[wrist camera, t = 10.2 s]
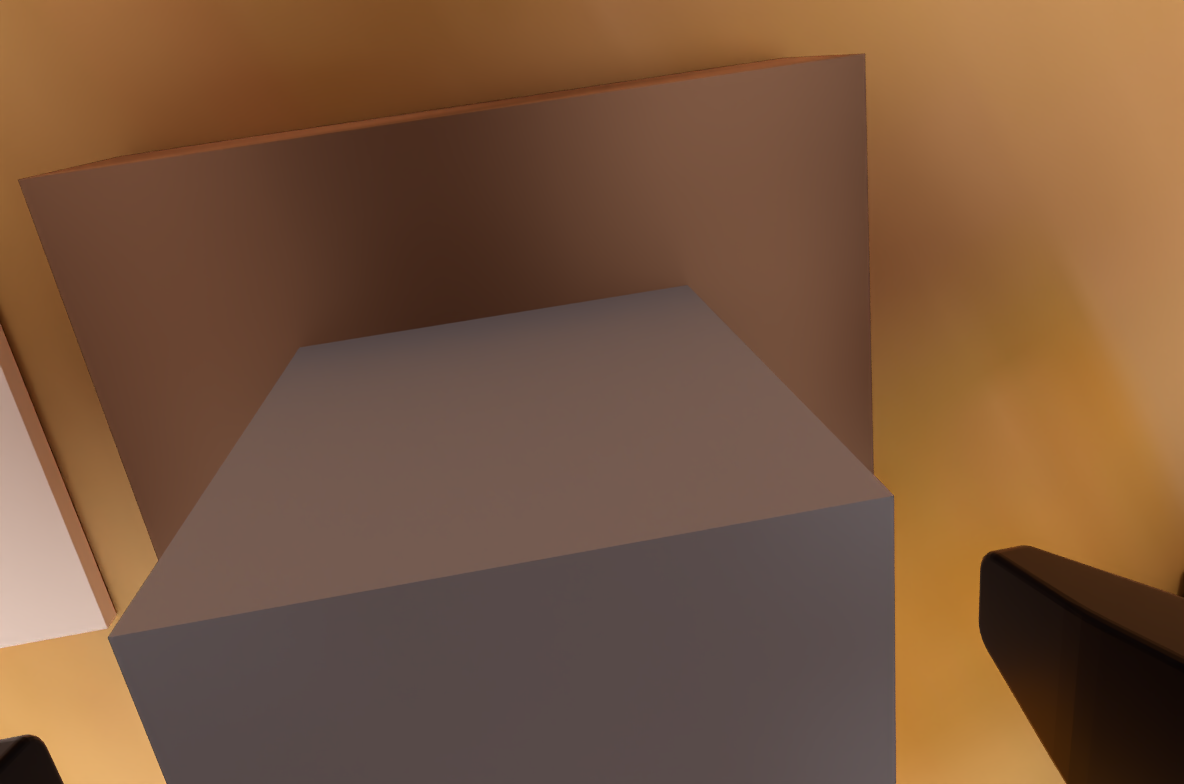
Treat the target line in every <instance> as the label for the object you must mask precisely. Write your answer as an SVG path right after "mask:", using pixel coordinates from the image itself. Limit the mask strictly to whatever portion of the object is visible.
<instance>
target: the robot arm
mask: <svg viewBox="0 0 1184 784" xmlns="http://www.w3.org/2000/svg"><path fill="white" fill-rule="evenodd" d="M979 628H980V633H981V636H982V640H983V642H984V645H985V647H986V649H987V650H988V652H989V654H990V656H991V657H992V659H993V661H994V662H995V664H996V666H997V668H998V669H999V671H1000V673H1001V674H1002V676H1003V678H1004V679H1005V681H1006V683H1007V685H1008V686H1009V688H1010V690H1011V691H1012V693H1013V695H1014V697H1015V698H1016V700H1017V702H1018V703H1019V705H1020V707H1021V708H1022V710H1023V712H1024V714H1025V715H1026V717H1027V719H1028V720H1029V722H1030V724H1031V726H1032V727H1033V729H1034V731H1035V732H1036V734H1037V736H1038V738H1039V739H1040V741H1041V743H1042V744H1043V746H1044V748H1045V749H1046V751H1047V753H1048V755H1049V756H1050V758H1051V760H1052V761H1053V763H1054V765H1055V766H1056V768H1057V769H1058V771H1059V773H1060V774H1061V776H1062V777H1063V779H1064V781H1065V782H1066V784H1184V598H1183V597H1180V596H1177V595H1174V594H1172V593H1169V592H1166V591H1163V590H1160V589H1157V588H1154V587H1151V586H1148V585H1145V584H1142V583H1139V582H1136V581H1133V580H1130V579H1127V578H1124V577H1121V576H1118V575H1115V574H1112V573H1109V572H1106V571H1103V570H1100V569H1097V568H1094V567H1091V566H1088V565H1085V564H1082V563H1079V562H1076V561H1073V560H1070V559H1067V558H1064V557H1061V556H1058V555H1055V554H1052V553H1049V552H1046V551H1043V550H1040V549H1037V548H1034V547H1031V546H1016V547H1011V548H1006V549H1001V550H995V551H991V552H989V553H987V554H986V555H985V556H984V557H983V560H982V562H981V568H980V597H979ZM0 784H64V783H63V781H62V779H61V777H60V775H59V773H58V770H57V768H56V766H55V764H54V762H53V760H52V758H51V755H50V753H49V751H48V749H47V747H46V745H45V744H44V742H43V741H42V740H41V739H40V738H39V737H37V736H34V735H22V736H17V737H11V738H6V739H1V740H0Z"/></svg>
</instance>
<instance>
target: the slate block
mask: <svg viewBox="0 0 1184 784" xmlns="http://www.w3.org/2000/svg"><path fill="white" fill-rule="evenodd" d="M108 640H109V642H110V644H111V647H112V649H113V652H114V654H115V657H116V659H117V662H118V664H119V667H120V669H121V672H122V674H123V677H124V679H125V682H126V684H127V687H128V689H129V692H130V694H131V697H132V699H133V701H134V704H135V706H136V709H137V711H138V714H139V716H140V719H141V721H142V724H143V726H144V729H145V731H146V734H147V736H148V739H149V741H150V744H151V746H152V749H153V751H154V753H155V756H156V758H157V761H158V763H159V766H160V768H161V771H162V773H163V776H164V778H165V781H166V783H167V784H896V723H895V579H894V495H893V494H892V493H891V492H890V491H889V490H888V489H887V488H886V487H885V486H884V485H883V484H882V483H881V482H880V481H879V480H878V479H877V478H876V477H875V476H874V475H873V474H872V473H871V472H870V471H869V470H868V469H867V468H866V467H865V466H864V465H863V464H862V463H861V462H860V461H859V460H858V459H857V457H856V456H855V455H854V454H853V453H852V452H851V451H850V450H849V449H848V448H847V447H846V446H845V445H844V444H843V443H842V442H841V441H840V440H839V439H838V438H837V437H836V436H835V435H834V434H833V433H832V432H831V431H830V430H829V429H828V428H827V427H826V426H825V425H824V424H823V423H822V422H821V421H820V420H819V419H818V418H817V417H816V416H815V415H814V414H813V413H812V412H811V411H810V410H809V409H808V408H807V406H806V405H805V404H804V403H803V402H802V401H801V400H800V399H799V398H798V397H797V396H796V395H795V394H794V393H793V392H792V391H791V390H790V389H789V388H788V387H787V386H786V385H785V384H784V383H783V382H782V381H781V380H780V379H779V378H778V377H777V376H776V375H775V374H774V373H773V372H772V371H771V370H770V369H769V368H768V367H767V366H766V365H765V364H764V363H763V362H762V361H761V360H760V359H759V358H758V357H757V356H756V354H755V353H754V352H753V351H752V350H751V349H750V348H749V347H748V346H747V345H746V344H745V343H744V342H743V341H742V340H741V339H740V338H739V337H738V336H737V335H736V334H735V333H734V332H733V331H732V330H731V329H730V328H729V327H728V326H727V325H726V324H725V323H724V322H723V321H722V320H721V319H720V318H719V317H718V316H717V315H716V314H715V313H714V312H713V311H712V310H711V309H710V308H709V307H708V306H707V305H706V303H705V302H704V301H703V300H702V299H701V298H700V297H699V296H698V295H697V294H696V293H695V292H694V291H693V290H692V289H691V288H690V287H689V286H688V285H685V286H678V287H672V288H666V289H660V290H654V291H647V292H641V293H635V294H629V295H623V296H616V297H610V298H604V299H598V300H591V301H585V302H579V303H573V304H567V305H560V306H554V307H548V308H542V309H536V310H529V311H523V312H517V313H511V314H505V315H498V316H492V317H486V318H480V319H473V320H467V321H461V322H455V323H449V324H442V325H436V326H430V327H424V328H418V329H411V330H405V331H399V332H393V333H387V334H380V335H374V336H368V337H362V338H355V339H349V340H343V341H337V342H331V343H324V344H318V345H312V346H306V347H300V348H299V349H298V350H297V352H296V354H295V355H294V357H293V358H292V360H291V361H290V363H289V364H288V366H287V367H286V369H285V370H284V372H283V373H282V375H281V376H280V378H279V379H278V381H277V382H276V384H275V385H274V387H273V388H272V390H271V391H270V393H269V394H268V396H267V397H266V399H265V400H264V402H263V403H262V405H261V406H260V408H259V409H258V411H257V412H256V414H255V416H254V417H253V419H252V420H251V422H250V423H249V425H248V426H247V428H246V429H245V431H244V432H243V434H242V435H241V437H240V438H239V440H238V441H237V443H236V444H235V446H234V447H233V449H232V450H231V452H230V453H229V455H228V456H227V458H226V459H225V461H224V462H223V464H222V465H221V467H220V468H219V470H218V471H217V473H216V475H215V476H214V478H213V479H212V481H211V482H210V484H209V485H208V487H207V488H206V490H205V491H204V493H203V494H202V496H201V497H200V499H199V500H198V502H197V503H196V505H195V506H194V508H193V509H192V511H191V512H190V514H189V515H188V517H187V518H186V520H185V521H184V523H183V524H182V526H181V527H180V529H179V530H178V532H177V533H176V535H175V537H174V538H173V540H172V541H171V543H170V544H169V546H168V547H167V549H166V550H165V552H164V553H163V555H162V556H161V558H160V559H159V561H158V562H157V564H156V565H155V567H154V568H153V570H152V571H151V573H150V574H149V576H148V577H147V579H146V580H145V582H144V583H143V585H142V586H141V588H140V589H139V591H138V592H137V594H136V596H135V597H134V599H133V600H132V602H131V603H130V605H129V606H128V608H127V609H126V611H125V612H124V614H123V615H122V617H121V618H120V620H119V621H118V623H117V624H116V626H115V627H114V629H113V630H112V632H111V633H110V635H109V636H108Z"/></svg>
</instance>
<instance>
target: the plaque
mask: <svg viewBox="0 0 1184 784" xmlns="http://www.w3.org/2000/svg"><path fill="white" fill-rule="evenodd" d="M116 615H117V614H116V612H115V609H114V607H113V604H112V602H111V599H110V597H109V594H108V592H107V589H106V587H105V584H104V582H103V579H102V577H101V574H100V572H99V569H98V567H97V564H96V562H95V559H94V557H93V554H92V552H91V549H90V547H89V544H88V542H87V539H86V537H85V534H84V532H83V529H82V527H81V524H80V522H79V519H78V517H77V514H76V512H75V509H74V507H73V504H72V502H71V499H70V497H69V494H68V492H67V489H66V487H65V484H64V482H63V479H62V477H61V474H60V472H59V469H58V467H57V464H56V462H55V459H54V457H53V454H52V452H51V449H50V447H49V444H48V442H47V439H46V437H45V434H44V432H43V429H42V427H41V424H40V422H39V419H38V417H37V414H36V412H35V409H34V407H33V404H32V402H31V399H30V397H29V394H28V392H27V389H26V387H25V384H24V382H23V379H22V377H21V374H20V372H19V369H18V367H17V364H16V362H15V359H14V357H13V354H12V352H11V349H10V347H9V344H8V342H7V339H6V337H5V334H4V332H3V329H2V327H1V324H0V648H4V647H9V646H15V645H20V644H26V643H31V642H37V641H42V640H48V639H53V638H59V637H64V636H69V635H75V634H80V633H86V632H91V631H97V630H102V629H107V628H108V627H109V626H110V624H111V623H112V621H113V620H114V618H115V617H116Z"/></svg>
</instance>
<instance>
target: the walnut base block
mask: <svg viewBox="0 0 1184 784" xmlns="http://www.w3.org/2000/svg"><path fill="white" fill-rule="evenodd" d="M18 181H19V184H20V186H21V189H22V192H23V195H24V197H25V200H26V203H27V205H28V208H29V211H30V213H31V216H32V219H33V222H34V224H35V227H36V230H37V232H38V235H39V238H40V241H41V243H42V246H43V249H44V251H45V254H46V257H47V260H48V262H49V265H50V268H51V270H52V273H53V276H54V279H55V281H56V284H57V287H58V289H59V292H60V295H61V298H62V300H63V303H64V306H65V308H66V311H67V314H68V317H69V319H70V322H71V325H72V327H73V330H74V333H75V336H76V338H77V341H78V344H79V346H80V349H81V352H82V355H83V357H84V360H85V363H86V365H87V368H88V371H89V374H90V376H91V379H92V382H93V384H94V387H95V390H96V393H97V395H98V398H99V401H100V403H101V406H102V409H103V411H104V414H105V417H106V420H107V422H108V425H109V428H110V430H111V433H112V436H113V439H114V441H115V444H116V447H117V449H118V452H119V455H120V458H121V460H122V463H123V466H124V468H125V471H126V474H127V477H128V479H129V482H130V485H131V487H132V490H133V493H134V496H135V498H136V501H137V504H138V506H139V509H140V512H141V515H142V517H143V520H144V523H145V525H146V528H147V531H148V534H149V536H150V539H151V542H152V544H153V547H154V550H155V553H156V555H157V558H158V561H159V559H160V558H161V556H162V555H163V553H164V552H165V550H166V549H167V547H168V546H169V544H170V543H171V541H172V540H173V538H174V537H175V535H176V533H177V532H178V530H179V529H180V527H181V526H182V524H183V523H184V521H185V520H186V518H187V517H188V515H189V514H190V512H191V511H192V509H193V508H194V506H195V505H196V503H197V502H198V500H199V499H200V497H201V496H202V494H203V493H204V491H205V490H206V488H207V487H208V485H209V484H210V482H211V481H212V479H213V478H214V476H215V475H216V473H217V471H218V470H219V468H220V467H221V465H222V464H223V462H224V461H225V459H226V458H227V456H228V455H229V453H230V452H231V450H232V449H233V447H234V446H235V444H236V443H237V441H238V440H239V438H240V437H241V435H242V434H243V432H244V431H245V429H246V428H247V426H248V425H249V423H250V422H251V420H252V419H253V417H254V416H255V414H256V412H257V411H258V409H259V408H260V406H261V405H262V403H263V402H264V400H265V399H266V397H267V396H268V394H269V393H270V391H271V390H272V388H273V387H274V385H275V384H276V382H277V381H278V379H279V378H280V376H281V375H282V373H283V372H284V370H285V369H286V367H287V366H288V364H289V363H290V361H291V360H292V358H293V357H294V355H295V354H296V352H297V350H298V349H299V348H300V347H306V346H312V345H318V344H324V343H331V342H337V341H343V340H349V339H355V338H362V337H368V336H374V335H380V334H387V333H393V332H399V331H405V330H411V329H418V328H424V327H430V326H436V325H442V324H449V323H455V322H461V321H467V320H473V319H480V318H486V317H492V316H498V315H505V314H511V313H517V312H523V311H529V310H536V309H542V308H548V307H554V306H560V305H567V304H573V303H579V302H585V301H591V300H598V299H604V298H610V297H616V296H623V295H629V294H635V293H641V292H647V291H654V290H660V289H666V288H672V287H678V286H685V285H688V286H689V287H690V288H691V289H692V290H693V291H694V292H695V293H696V294H697V295H698V296H699V297H700V298H701V299H702V300H703V301H704V302H705V303H706V305H707V306H708V307H709V308H710V309H711V310H712V311H713V312H714V313H715V314H716V315H717V316H718V317H719V318H720V319H721V320H722V321H723V322H724V323H725V324H726V325H727V326H728V327H729V328H730V329H731V330H732V331H733V332H734V333H735V334H736V335H737V336H738V337H739V338H740V339H741V340H742V341H743V342H744V343H745V344H746V345H747V346H748V347H749V348H750V349H751V350H752V351H753V352H754V353H755V354H756V356H757V357H758V358H759V359H760V360H761V361H762V362H763V363H764V364H765V365H766V366H767V367H768V368H769V369H770V370H771V371H772V372H773V373H774V374H775V375H776V376H777V377H778V378H779V379H780V380H781V381H782V382H783V383H784V384H785V385H786V386H787V387H788V388H789V389H790V390H791V391H792V392H793V393H794V394H795V395H796V396H797V397H798V398H799V399H800V400H801V401H802V402H803V403H804V404H805V405H806V406H807V408H808V409H809V410H810V411H811V412H812V413H813V414H814V415H815V416H816V417H817V418H818V419H819V420H820V421H821V422H822V423H823V424H824V425H825V426H826V427H827V428H828V429H829V430H830V431H831V432H832V433H833V434H834V435H835V436H836V437H837V438H838V439H839V440H840V441H841V442H842V443H843V444H844V445H845V446H846V447H847V448H848V449H849V450H850V451H851V452H852V453H853V454H854V455H855V456H856V457H857V459H858V460H859V461H860V462H861V463H862V464H863V465H864V466H865V467H866V468H867V469H868V470H869V471H870V472H871V473H872V474H873V475H874V470H873V421H872V372H871V322H870V273H869V224H868V175H867V125H866V76H865V54H848V55H829V56H810V57H791V58H780V59H773V60H766V61H760V62H753V63H746V64H739V65H733V66H726V67H719V68H712V69H706V70H699V71H692V72H685V73H679V74H672V75H665V76H658V77H652V78H645V79H638V80H631V81H625V82H618V83H611V84H604V85H598V86H591V87H584V88H577V89H571V90H564V91H557V92H551V93H544V94H537V95H530V96H524V97H517V98H510V99H503V100H497V101H490V102H483V103H476V104H470V105H463V106H456V107H449V108H443V109H436V110H429V111H422V112H416V113H409V114H402V115H395V116H389V117H382V118H375V119H368V120H362V121H355V122H348V123H341V124H335V125H328V126H321V127H314V128H308V129H301V130H294V131H287V132H281V133H274V134H267V135H260V136H254V137H247V138H240V139H233V140H227V141H220V142H213V143H206V144H200V145H193V146H186V147H180V148H173V149H166V150H159V151H153V152H146V153H139V154H132V155H126V156H119V157H115V158H111V159H106V160H102V161H98V162H93V163H89V164H84V165H80V166H76V167H71V168H67V169H63V170H58V171H54V172H49V173H45V174H41V175H36V176H32V177H28V178H23V179H19V180H18Z"/></svg>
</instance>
